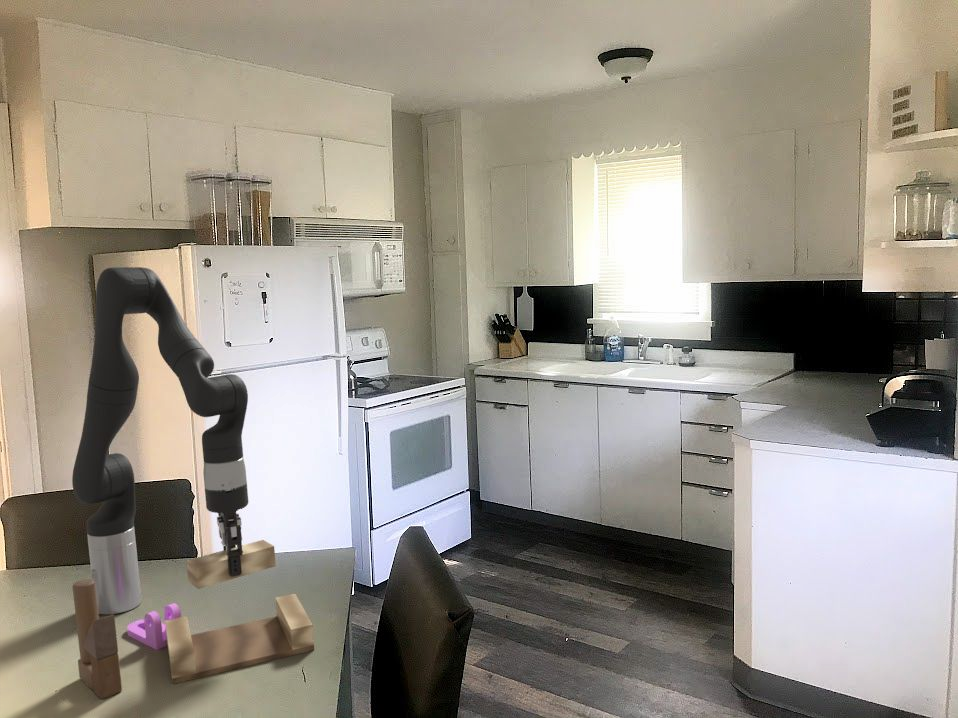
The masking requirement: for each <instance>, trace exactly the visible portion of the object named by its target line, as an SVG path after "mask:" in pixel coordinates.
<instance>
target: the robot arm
mask: <svg viewBox="0 0 958 718" xmlns="http://www.w3.org/2000/svg"><path fill="white" fill-rule="evenodd" d="M94 312H95V315H94V320H95V321H94V342H93V349H92V359H91V366H90V373H89V378H88V385H87V392H86V402H85V403H86V404H85V413H84V419H83V424H82V425H83V426H82V431H81V437H80V441H79V445H78V448H77V453H76V456H75V460H74V466H73V470H72V475H71V476H72V478H71V479H72V480H71V483H72V490H73V493H74V496H75V498H77V500H78V502H79V503H82V504H84V505H95V504H98V503H101V502H102V505H101V506H100V507H99V508H98V509H97V511H95V513H94V514H92V515H91V516H90V517H89V518H88V519H87V520H86V524H85V526H86V534H87V536H86V537H87V544H88V554H89V562H90V579H92V580H94V581H95V586H96V596H97V605H98V614H99V615H112V614H114V615H115V614H116V615H117V614H120V613H124V612H128V611H130V610H133V609H135V608H137V607H138V606H139V605H141V603H142V599H143V598H142V590H141V581H140V571H139V561H138V560H139V559H138V552H137V551H138V550H137V542H136V534H135V533H136V532H135V531H136V530H135V516H136V509H137V507H136V485H135V474H134V469H133V466H132V463H131V462H130V460H129V459H128V457H127V456H126V455H124V454H122V453H118V452H117V453H115V452H114V453H110V454H108V452H109V449H110V446H111V444H112V442H113V440H114V439H115V437H116V436H117V434H118V433H119V432H120V430H121V429H122V427H123V426H124V425H125V423H126V422H127V420H128V419H129V417H130V416H131V414H132V412H133V410H134V409H135V405H136V402H137V397H138V389H139V384H140V383H139V381H140V375H139V370H138V368H137V366H136V364H135V361H134V359H133V357H132V356H131V354H130V353H129V350H128V349H127V347H126V345H125V343H124V340H123V320H124V317H125V315H132V314H133V315H136V314H147V315H148V316H150V317H151V318H152V319H153V320H154V321H155V322H156V324H157V326H158V333H157V336H158V337H157V346H158V350H159V354H160V355H161V357H162V358H163V361H164V362H165V364H166V365H167V366H168V367H169V368H170V370H171V371H172V372H173V373H174V375H176V377H177V378H178V381H179V383H180V387H181V388H182V391H183V394H184V396H185V399H186V403H187V405H188V407H189V409H190V411H192V412H193V413H194V414H196V415H197V416H199V417H202V418H210V417H211V418H212V417H215V416H219V417H218V420H217V422H216V423H215V424H214V425H212V426H211V427H209V428H208V429H206V430H204V431H203V433H202V434H201V448H202V455H203V456H202V457H203V474H202V475H203V483H204V484H203V485H204V495H205V508H206V510H207V511H208V512H210V513H215V514H216V513H217V514H218V516H217V517H216V523H217V527H218V535H219V538H220V540H221V541H220V544H221V545H222V548H223V549H222V550H226V552H227V553H226V556H227V558H228V568H229V575H230V576H231V577H234V576H239V575H241V574H242V569H241V558H240V556H241V555H242V553H243V550H242V545H243V544H242V543H243V542H242V541H243V535H242V525H243V524H242V518H241V517H240V515H239V513H237V512H238V511H239V510H243V509H244V508H246V507H247V506H248V504H249V493H248V480H247V470H246V468H247V467H246V464H245V460H244V451H243V450H244V449H243V440H242V439H243V438H242V435H243V428H244V425H245V420H246V419H245V418H246V414H247V409H248V403H249V402H248V401H249V400H248V399H249V393H248V388H247V386H246V383H245V382H244V380H243V379H242V378H241V377H240V376H238V375H236V374H233V373H232V374H230V373H229V374H223V375H218V376H211V375H212V373H213V372H214V370H215V369H214V368H215V361H214V360H213V358H212V356H211V355H210V353H208V351H207V350H206V348H204V346H203V344H202V343H200V342H199V340H198V339H197V338H196V337H195V335H194V334H193V332H191V330H190V329H189V327H188V326H187V324H186V323H185V321H184V319H183V318H182V317H183V316H181V314H180V312H179V310H178V307H177V306H176V304H175V302H174V301H173V299H172V297H171V295H170V293H169V292H168V290H167V288H166V286H165V285H164V282H163V281H162V279H161V278H160V277H159V275H157V273H156V272H155V271H154V270H152V269H151V268H147V267H139V266H138V267H137V266H134V267H131V266H130V267H127V266H123V267H120V266H119V267H118V266H117V267H107V268H105V269H103V270H102V271H101V273H100V274H99V277H98V279H97V284H96V292H95V311H94ZM210 376H211V377H210ZM235 547H237V549H235V550H231V548H235Z"/></svg>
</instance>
